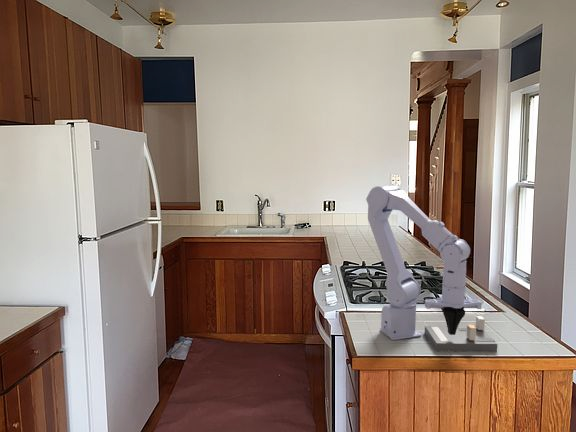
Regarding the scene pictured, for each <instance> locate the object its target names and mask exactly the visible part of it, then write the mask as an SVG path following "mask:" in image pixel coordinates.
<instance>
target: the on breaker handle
mask: <svg viewBox="0 0 576 432" xmlns="http://www.w3.org/2000/svg"><path fill="white" fill-rule="evenodd" d="M485 320H486V319H485V318H484V317H483V316H482V315H476V316H475V326H476V328H477V329H478V330H484V331H485V324H486V322H485Z"/></svg>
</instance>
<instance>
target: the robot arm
mask: <svg viewBox="0 0 576 432" xmlns="http://www.w3.org/2000/svg"><path fill="white" fill-rule="evenodd" d="M365 200H366V202H367V205H368V206H367V207H368V208H367V221H368V223H369V226H370V229H371V232H372V234H373V237H374V240H375V243H376V245H377V248H378V251H379V254H380V257H381V259H382V263H383V265H384V268H385V270H386V273H387V277H386V280H385V286H386V298H387V300H388V302H389V304H387V305H384V306H383V307H382V309H381V321H380V328H379V330H380V331H381V332H382V333H383V334H384V335H386V336H387V337H388V338H390V339H391V340H392V341H396V340H402V339H408V338H410V339H411V338H418V337H422V334H421V332H420V331H417V330H416V321H417V317H416V316H417V298H419V297H420V296H421V292H422V291H421V289H422V288H421V285H420V284H419V282H417V280H416V279H415V278H414V275H413V273H412V272H411V271H410V270H408V269H407V268H406V265H405V262H404V260H403V258H402V255H401V252H400V249H399V247H398V244H397V241H396V239H395V236H394V232H393V230H392V227H391V224H390V222H389V218H390V215H391V213H392V212H393V210H394V211H400V212H402V214H403V215H404V216H406V217H408V218H409V220H411V221H412V222H413V223H414V224H416V225H417V226H418V227H419V228H420V229H421V235H422V237H424V238H425V240H427V242H428V243H430V245H432V246H433V247H434V248H435V249H436V250H437V251H438V252H439V255H440V258H441V260H442V262H443V270H442V291H441V292H442V293H441V297H439V298H438V297H437V298H433V299H425V300H424V307H425V309H427V310H431V309H440V310H441V311H442V313H443V316H444V319H445V324H446V326H447V328H448V333H449V334H450V335H455V334H456V330H457V327H458V326H460V323H461V321H462V319H463V318H464V317H465V315H466V310H465V309H477V310H482V307H483V305H482V301H481V300H479V299H471V298H469V299H468V298H466V280H467V279H466V277H467V259H468V258H469V256H470V255H471V247H470V245H469V244H468V243H467V241H466V240H464V239H461V238H459V237H458V236H457V235H456V234H453V233H452V232H450V230H448V229H447V227H445V223H444V222H443V221H438V219H437V220H435V219H433V220H431V219H430V218H429V217H428V215H426V214H425V213H424V211H422V210H421V208H419V207H418V205H417V204H416V203H415V202H413V200H412V199H411V198H410V197H409V196H408V194H407V193H406V191H405V190H402V189H401V188H400V186H398V185H397V184H388V185H384V186H374V187H373V188H371V189H370V190H369V192H368V194H367V197H366V198H365Z"/></svg>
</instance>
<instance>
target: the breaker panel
mask: <svg viewBox="0 0 576 432" xmlns="http://www.w3.org/2000/svg"><path fill="white" fill-rule="evenodd" d="M473 326H474V327H475V328H476V325H473ZM424 335H425V336H426V337H427V339H428V341H429V342H430V344H431V345H432V347H433V348H434V350H435V351H436V352H479V353H481V352H483V353H484V352H489V353H491V352H492V353H493V352H496V353H497V352H498V343H497V341H495V339H494V338H492V337H491V336H490V335H489V334H488V333H487V332H486V331H485V329H484V330H478V329H477V328H476V339H475V340H469V339H468V338H467V325H458V327H457V330H456V334H455V335H450V334H449V333H448V328H447V325H425V326H424Z"/></svg>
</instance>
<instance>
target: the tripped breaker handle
mask: <svg viewBox="0 0 576 432" xmlns="http://www.w3.org/2000/svg"><path fill="white" fill-rule="evenodd" d="M466 326H467V338H468V339H469V340H475V339H476V328H475V327H474V326H475V325H474V324H466Z"/></svg>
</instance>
